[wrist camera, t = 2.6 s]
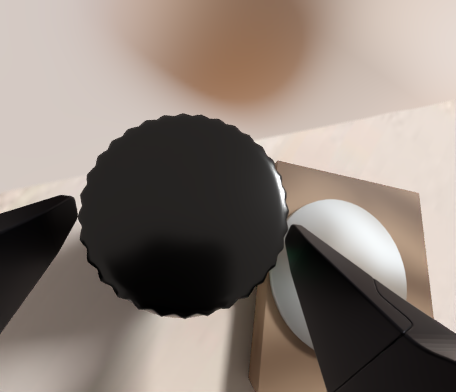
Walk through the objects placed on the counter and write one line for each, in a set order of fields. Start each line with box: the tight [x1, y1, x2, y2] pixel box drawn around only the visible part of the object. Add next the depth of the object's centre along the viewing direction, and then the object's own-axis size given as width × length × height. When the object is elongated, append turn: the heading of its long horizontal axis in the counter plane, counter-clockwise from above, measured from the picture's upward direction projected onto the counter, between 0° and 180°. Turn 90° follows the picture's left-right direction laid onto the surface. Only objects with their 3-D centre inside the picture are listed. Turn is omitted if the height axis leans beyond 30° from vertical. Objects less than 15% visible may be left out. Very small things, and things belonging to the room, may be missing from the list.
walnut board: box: [248, 161, 434, 392], centre depth 17 cm, size 16×14×3 cm
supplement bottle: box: [78, 114, 289, 319], centre depth 10 cm, size 7×7×12 cm
